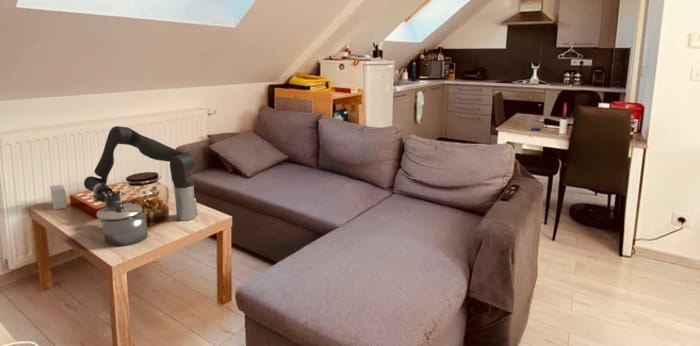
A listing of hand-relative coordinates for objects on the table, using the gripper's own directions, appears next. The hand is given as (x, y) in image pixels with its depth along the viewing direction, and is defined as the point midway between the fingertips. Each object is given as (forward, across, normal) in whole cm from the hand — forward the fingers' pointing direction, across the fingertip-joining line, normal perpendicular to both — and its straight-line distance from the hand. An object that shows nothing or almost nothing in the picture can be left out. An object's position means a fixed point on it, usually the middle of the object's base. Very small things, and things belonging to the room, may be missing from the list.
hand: (111, 200), depth 226 cm
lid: (+12, 0, +2) cm, 12 cm away
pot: (+21, 0, +12) cm, 24 cm away
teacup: (-25, +17, +12) cm, 33 cm away
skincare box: (-44, -16, +12) cm, 49 cm away
